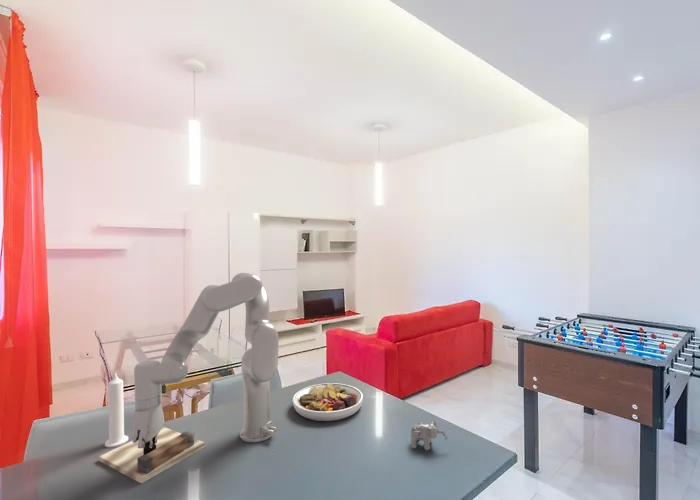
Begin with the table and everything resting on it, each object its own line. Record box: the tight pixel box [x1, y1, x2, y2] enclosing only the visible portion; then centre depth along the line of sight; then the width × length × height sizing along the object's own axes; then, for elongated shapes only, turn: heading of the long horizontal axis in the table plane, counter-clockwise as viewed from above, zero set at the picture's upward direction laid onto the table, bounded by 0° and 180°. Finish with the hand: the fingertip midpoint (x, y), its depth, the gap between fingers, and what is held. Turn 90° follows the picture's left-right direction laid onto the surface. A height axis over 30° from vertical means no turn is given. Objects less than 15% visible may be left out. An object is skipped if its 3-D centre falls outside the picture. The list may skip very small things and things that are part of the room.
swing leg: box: [137, 430, 195, 474], centre depth 115 cm, size 19×4×4 cm, turn 156°
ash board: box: [98, 426, 206, 484], centre depth 120 cm, size 24×22×2 cm
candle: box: [104, 372, 129, 448], centre depth 127 cm, size 7×7×25 cm
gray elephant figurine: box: [410, 420, 448, 452], centre depth 122 cm, size 9×12×8 cm
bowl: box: [292, 382, 364, 422], centre depth 153 cm, size 30×30×8 cm
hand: (150, 458), depth 113 cm, fingers closed
